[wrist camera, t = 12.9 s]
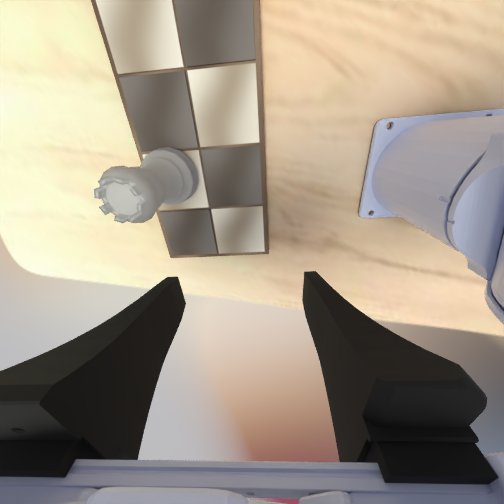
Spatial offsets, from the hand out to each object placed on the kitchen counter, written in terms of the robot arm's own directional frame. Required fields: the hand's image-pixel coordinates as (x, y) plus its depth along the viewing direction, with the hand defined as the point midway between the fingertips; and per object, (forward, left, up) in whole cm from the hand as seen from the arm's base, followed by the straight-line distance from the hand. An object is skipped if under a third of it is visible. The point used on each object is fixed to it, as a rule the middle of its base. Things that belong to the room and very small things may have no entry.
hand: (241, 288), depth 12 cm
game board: (+4, -7, -10) cm, 13 cm away
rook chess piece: (+6, -5, -10) cm, 12 cm away
